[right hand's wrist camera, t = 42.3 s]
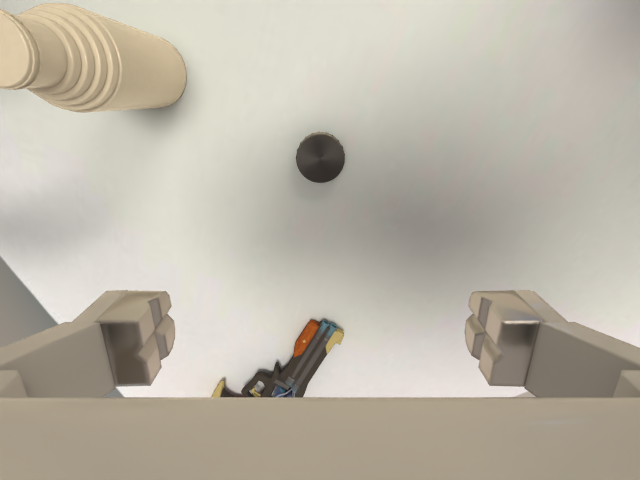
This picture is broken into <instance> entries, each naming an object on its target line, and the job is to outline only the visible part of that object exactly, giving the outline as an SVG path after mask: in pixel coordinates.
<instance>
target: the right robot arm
mask: <svg viewBox="0 0 640 480" xmlns="http://www.w3.org/2000/svg"><path fill="white" fill-rule="evenodd" d="M170 308H171V301H170V296H169V294H168V293H167V292H166V291H128V290H116V291H106V292H105V293H104V294H103V295H102V296H100V297H99V298H98V299H97V300H96V301H95V302H94V303H93V304H91V305H90V306H89V307H88V308H87V309H86V310H85V311H84V312H82V313H81V314H80V315H79V316H78V317H77V318H76V319H75V320H74V321H72V322H65V323H62V324H60V325H57V326H55V327H52V328H49V329H47V330H44V331H42V332H39V333H37V334H34V335H32V336H29V337H27V338H24V339H22V340H19V341H16V342H14V343H11V344H9V345H6V346H4V347H1V348H0V480H640V348H639V347H636V346H633V345H631V344H628V343H626V342H623V341H621V340H618V339H616V338H613V337H611V336H608V335H606V334H603V333H601V332H598V331H596V330H593V329H591V328H588V327H585V326H583V325H580V324H578V323H575V322H568V321H567V320H565V319H564V318H563V317H562V316H561V315H560V314H559V313H558V312H556V311H555V310H554V309H553V308H552V307H551V306H550V305H549V304H548V303H546V302H545V301H544V300H543V299H542V298H541V297H540V296H539V295H537V294H536V293H535V292H534V291H530V290H520V291H513V290H512V291H476V292H472V294H471V297H470V300H469V308H470V309H471V311H472V313H473V314H472V315H471V316H470V317H469V318H468V319H467V320H466V326H465V340H466V344H467V347H468V350H469V352H470V353H471V355H472V356H473V357H475V358H476V359H478V360H480V361H479V369H480V371H481V372H482V374H483V376H484V377H485V379H486V381H487V382H488V384H489V386H523V387H525V389H526V390H528V391H529V392H531V393H532V394H533V395H535V396H536V397H196V398H195V397H192V398H103V397H104V396H106V395H107V394H108V393H110V392H111V391H112V390H114V389H115V387H117V386H151V384H152V382H153V381H154V379H155V377H156V376H157V374H158V372H159V371H160V369H161V361H160V360H162V359H164V358H165V357H167V356H168V355H169V353H170V352H171V350H172V348H173V344H174V340H175V325H174V320H173V319H172V318H171V317H170V316H169V315H168V314H167V313H168V311H169V309H170Z"/></svg>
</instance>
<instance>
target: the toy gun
mask: <svg viewBox="0 0 640 480" xmlns="http://www.w3.org/2000/svg"><path fill="white" fill-rule="evenodd" d="M343 337H344V333H343V331H342V330H341V329H338V327H337V326H336V325H335V324H333V323H331V324H329V322H328V321H326V320H323V321H321V322H320V323H318V322H316V321H314V320H310V322H309V323H308V324H307V326H306V327H305V329H304V330H303V332H302V333H301V335H300V336H299V338H298V339H297V341H296V343H295V347H294V356H293V357H292V359H291V361H290V362H289V364H288V365H287V366H286V367H285V368H284V369H283V370H282V371H281V370H280V367H279V364H278V363H277V362H276V365H275V368H274V372H273V375H268V374H266V373H264V372H258V373H256V375H255V376H254V378H253V379H252V381H251V382H250V383H248V384H247V385H246V386H245V387H244V388H243V389H242V391H241V392H242V394H244V395H245V396H246V397H270V395H271V394H272V392H273V390H274V388H275V390H276V388H277V390H276V393H275V390H274V393H273V397H291V396H292V390H293V391H294V396H293V397H303V395H304V393H305V391H306V388H307V385H308V383H309V381H310V380H311V378H312V377H313V375H314V373H315V372H316V370H317V369H318V367H319V366H320V364H321V363H322V361H323V360H324V358H325V357H326V355H327V354H328V353H329V351H330V350H331V348H332V347H333V345H334V344H335V343H337V344H339V345H340V344H341V341H342V339H343ZM258 381H262V382H263V383H264V385H265V388H264V390H263V392H262V393H261V394H259V393H258V392H256V391H255V387H254V385H255V384H256V383H257V382H258ZM276 384H277V386H276ZM224 385H225V382H224V381H220V383H219V384H218V386H217V388H216V390H215V391H214V393H213V395H212V397H234V396H232V395H231V394H229V393H228V392H227V391H226V390H225V388H224ZM275 386H276V387H275ZM252 387H253V388H252ZM251 388H252V389H251ZM250 389H251V391H252V393H253V395H252V394H251V393H250V392H249V390H250ZM295 392H296V393H295ZM256 394H257V395H258V396H257V395H256ZM274 394H275V395H274Z"/></svg>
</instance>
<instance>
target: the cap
mask: <svg viewBox="0 0 640 480" xmlns="http://www.w3.org/2000/svg"><path fill="white" fill-rule="evenodd" d="M342 148H343V147H342V146H341V144H340V143H339V140H337V139H336V138H335V137H334V136H333V135H330V134H328V133H324V132H317V133H312V134H311V135H309V136H307V137H305V139H304V140H303V141H302V142H301V143H300V146H299V148H298V149H297V156H296V160H297V166H298V168H299V170H300V172H301V173H302V175H303V176H304V177H306V178H307V179H309V180H311V181H313V182H318V183H323V182H328V181H330V180H332V179H334V178H335V177H336V176H337V175H338V174H339V173H340V172H341V170H342V168H343V165H344V155H345V154H344V152H343V149H342Z"/></svg>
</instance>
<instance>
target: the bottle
mask: <svg viewBox="0 0 640 480" xmlns="http://www.w3.org/2000/svg"><path fill="white" fill-rule="evenodd" d="M185 85H186V68H185V65H184V62H183V59H182V57H181V56H180V54H179V52H178V51H177V50H176V49H175V47H174V46H173V45H171V44H170V43H169V42H168V41H166V40H165V39H163V38H161V37H158V36H155V35H153V34H150V33H147V32H145V31H142V30H139V29H137V28H134V27H131V26H129V25H126V24H123V23H121V22H118V21H115V20H113V19H110V18H107V17H105V16H102V15H99V14H96V13H94V12H91V11H88V10H86V9H83V8H80V7H78V6H75V5H71V4H65V3H46V4H41V5H38V6H36V7H33V8H32V9H29V10H27V11H25V12H23V13H20V14H19V15H17V16H15V15H13V14H11V13H9V12H7V11H4V10H1V9H0V88H3V89H15V90H17V89H25V88H27V89H28V90H30V91H31V92H33V93H34V94H36V95H38V96H39V97H41V98H42V99H44V100H45V101H47V102H48V103H50V104H52V105H54V106H56V107H59V108H62V109H66V110H70V111H74V112H82V113H84V112H100V111H116V110H131V109H146V108H161V107H166V106H169V105H171V104H173V103H174V102H176V101H177V100H178V99H179V97H180V96H181V95H182V93H183V91H184V88H185Z"/></svg>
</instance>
